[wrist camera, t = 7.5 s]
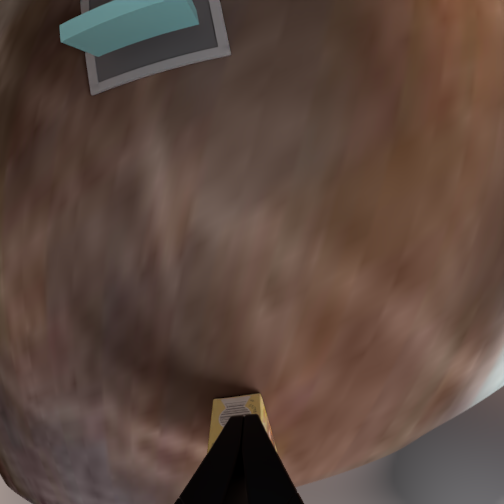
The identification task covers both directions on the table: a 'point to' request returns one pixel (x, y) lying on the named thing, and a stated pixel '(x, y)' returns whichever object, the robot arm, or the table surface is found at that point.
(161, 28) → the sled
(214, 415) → the candy box
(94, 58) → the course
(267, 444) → the robot arm
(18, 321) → the table surface
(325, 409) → the table surface
